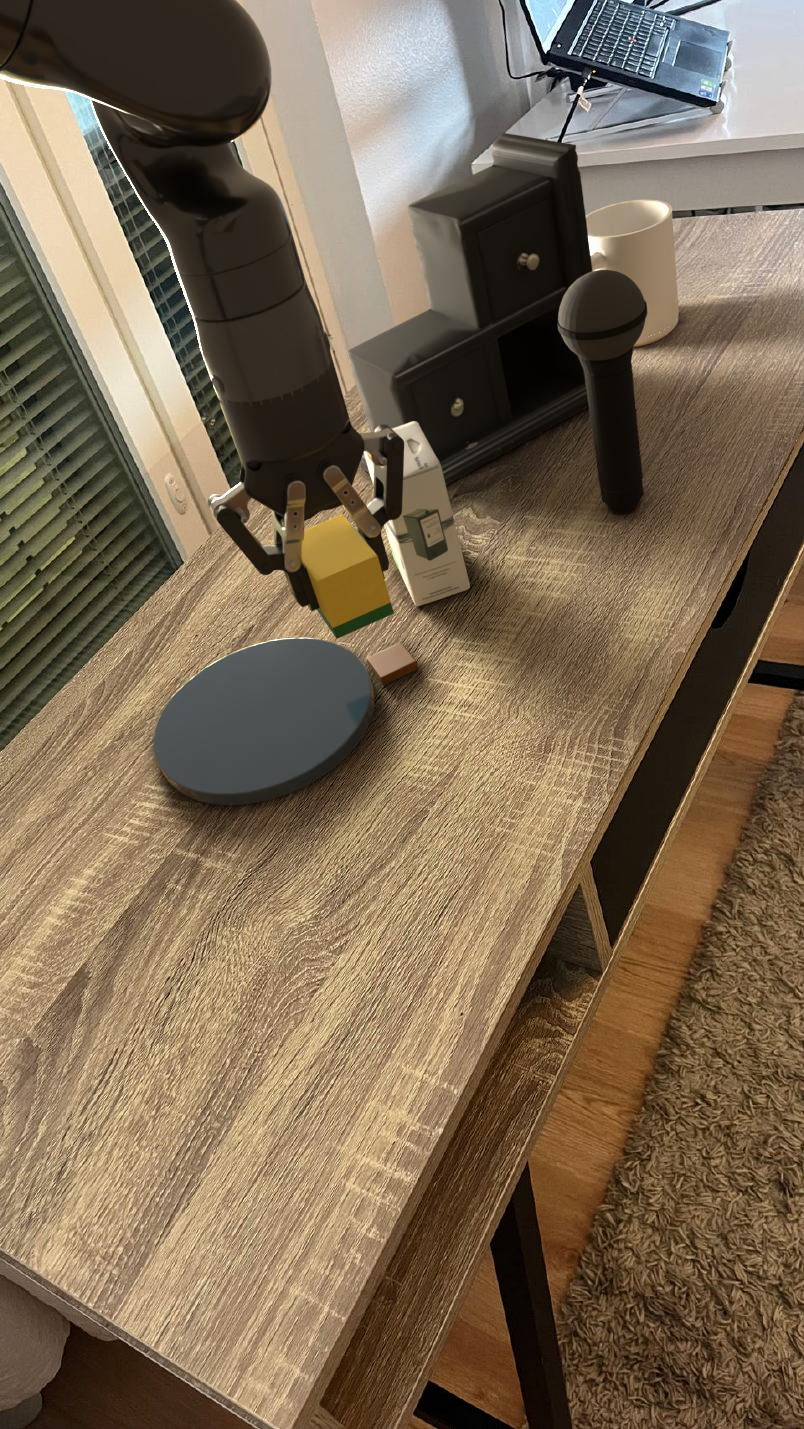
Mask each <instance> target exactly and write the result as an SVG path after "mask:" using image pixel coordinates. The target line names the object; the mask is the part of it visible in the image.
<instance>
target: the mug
mask: <svg viewBox="0 0 804 1429" xmlns="http://www.w3.org/2000/svg"><path fill="white" fill-rule="evenodd" d="M585 215H586V223H587V231H588V240H589V247H590V255H591V262H592V271H596V270H613V271H617V272H620V273H622V274H624V275H626V276H628V277H629V278H630V279H631V280H633V281H634V282H635V284H636V285H637V286H638V288H639V289H640V290H641V293H642V295H643V297H644V300H645V301H646V304H647V312H648V313H647V317H646V320H645V324H644V328H643V331H642V333H641V336H640V337H639V339H638V340H637V342H636V343H635V345H634V348H637V347H642V346H646V345H649V344H652V343H655V342H657V341H659V340H662V339H663V338H664V337H666V336H667V335H669V334H670V333H671V332H672V331H673V330H674V329H675V328H676V326H677V324H678V323H679V310H680V309H679V296H678V281H677V280H678V279H677V266H676V251H675V237H674V236H675V234H674V220H673V207H672V206H671V205H670V203H668V202H665V201H663V200H658V199H647V198H646V199H645V198H644V199H634V200H633V199H632V200H631V199H630V200H626V201H619V202H615V203H613V204H609V205H605V206H603V207H600V208H598V209H595V210H593V211H591V212H589V213H588V214H585ZM677 317H678V318H677ZM676 319H677V320H676ZM675 321H676V322H675ZM674 322H675V323H674ZM673 323H674V324H673ZM668 327H669V328H668ZM664 329H665V330H664ZM659 332H660V333H659ZM654 334H655V335H654ZM651 335H652V336H651ZM648 336H649V337H648ZM645 337H646V338H645Z"/></svg>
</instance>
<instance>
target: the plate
mask: <svg viewBox="0 0 804 1429" xmlns="http://www.w3.org/2000/svg"><path fill="white" fill-rule="evenodd" d="M375 703H376V698H375V689H374V686H373V682H372V680H371V676H370V673H369V671H368V669H367V667H366V666H365V664H364V663H363V661H362V660H361V659H360V658H359V657H358V656H357V655H356V654H355V653H353V652H352V651H351V650H349V649H348V648H346V647H344V646H342V645H340V644H337V643H335V642H332V641H328V640H324V639H319V638H313V637H312V638H311V637H289V638H288V637H287V638H280V639H279V638H278V639H273V640H268V641H264V642H259V643H256V644H252V645H250V646H247V647H244V648H241V649H238V650H236V651H234V652H231V653H229V654H227V655H225V656H223V657H221V658H219V659H217V660H216V661H214V662H212V663H211V664H209V665H207V666H205V667H204V668H203V669H201V670H200V671H199V672H197V673H196V674H195V675H193V676H192V677H191V678H189V679H188V680H187V681H186V682H185V683H184V684H183V685H182V686H181V687H180V688H179V689H178V690H177V691H176V693H174V695H173V696H172V697H171V698H170V700H169V701H168V702H167V704H166V705H165V707H164V708H163V710H162V712H161V713H160V716H159V718H158V720H157V722H156V726H155V729H154V734H153V752H154V757H155V760H156V762H157V764H158V766H159V769H160V771H161V772H162V774H163V776H164V778H165V779H166V780H167V781H168V783H169V784H170V785H171V786H172V787H173V788H174V789H175V790H176V791H178V792H179V793H181V794H183V795H184V796H186V797H188V798H190V799H193V800H195V801H198V802H202V803H206V804H211V805H219V806H244V805H251V804H252V805H253V804H259V803H262V802H267V801H272V800H274V799H277V798H280V797H284V796H287V795H289V794H291V793H294V792H296V791H298V790H301V789H303V788H305V787H307V786H309V785H310V784H312V783H314V782H316V781H317V780H319V779H321V778H322V777H324V776H325V775H327V774H328V773H329V772H331V771H333V769H335V768H336V767H337V766H338V765H340V764H341V763H342V762H343V761H344V760H345V759H346V758H347V757H348V756H349V755H350V754H351V753H352V752H353V750H354V749H355V748H356V747H357V746H358V745H359V743H360V742H361V740H362V739H363V737H364V736H365V734H366V732H367V731H368V728H369V726H370V724H371V721H372V719H373V714H374V711H375Z"/></svg>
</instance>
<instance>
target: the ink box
mask: <svg viewBox="0 0 804 1429" xmlns="http://www.w3.org/2000/svg"><path fill="white" fill-rule="evenodd" d="M392 430H393V431H394V432H396V433H397V434H398V435H399V436H400V437H401V438H402V439H403V440H404V470H403V498H402V514H401V516H400V517H399V518H398V519H396V520H389V521H388V522H387V523H386V524H385V525H384V528H385V532H386V536H387V539H388V542H389V547H390V550H391V554H392V558H393V560H394V562H395V565H396V567H397V569H398V572H399V573H400V576H401V578H402V580H403V582H404V584H405V586H406V589H407V591H408V593H409V595H410V597H411V599H412V601H413V603H414V605H415V606H416V607H420V606H421V607H422V606H425V605H426V604H431V603H433V602H437V601H438V600H442V599H444V598H447V597H450V596H453V595H456V594H458V593H463V592H465V591H467V590H469V589H470V588H471V585H470V584H471V583H470V580H469V575H468V572H467V567H466V563H465V559H464V556H463V551H462V547H461V543H460V539H459V535H458V531H457V526H456V522H455V518H454V514H453V510H452V505H451V501H450V498H449V493H448V489H447V485H446V484H445V480H444V476H443V472H442V468H441V465H440V463H439V460H438V459H437V457H436V455H435V454H434V452H433V450H432V448H431V446H430V444H429V442H428V441H427V439H426V437H425V435H424V433H423V431H422V430H421V428H420V426H419V423H417V422H416V421H415V422H414V421H413V422H409V423H407V424H404V425H401V426H398V427H396V428H393V429H392ZM364 454H365V458H366V462H367V465H368V469H369V472H370V473H369V472H368V473H369V475H370V478H371V479H370V480H371V483H372V486H373V487H374V463H373V462H372V461H371V460H370V459H369V458H368V456H367V452H365V451H364Z"/></svg>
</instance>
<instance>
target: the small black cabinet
mask: <svg viewBox="0 0 804 1429" xmlns="http://www.w3.org/2000/svg"><path fill="white" fill-rule="evenodd" d="M576 149H577V145H576V144H573V143H566V142H560V141H555V140H549V139H544V138H543V139H542V138H536V137H531V136H527V135H526V136H525V135H520V134H513V133H506V132H504V133H501V134H499V135H498V136H497V138H496V140H494V142H493V144H492V147H491V156H492V160H493V164H492V165H490V166H488V167H486V168H484V169H482V170H479V171H478V172H475V173H473V174H472V175H469V176H467V177H464V178H463V179H460V180H458V181H456V182H454V183H452V184H449V185H447V186H446V187H444V188H441V189H439V190H436V191H435V192H433V193H430V194H428V195H426V196H424V197H421V198H420V199H418V200H416V201H415V200H414V201H413V202H411V203H409V204H408V205H407V211H408V216H409V221H410V225H411V226H410V227H411V231H412V235H413V239H414V243H415V248H416V253H417V255H418V260H419V265H420V269H421V274H422V278H423V282H424V286H425V291H426V297H427V300H428V304H429V309H427V310H425V311H422V312H421V313H419V314H418V315H416V316H413V317H411V318H409V319H407V320H405V321H403V322H401V323H399V324H397V325H395V326H394V327H391V328H389V329H387V330H386V331H384V332H381V333H380V334H377V335H376V336H373V337H371V338H370V339H368V340H365V341H364V342H361V343H360V344H357V345H355V346H354V347H352V348H350V349H349V350H347V351H346V353H347V358H348V362H349V365H350V367H351V372H352V375H353V379H354V384H355V386H356V389H357V392H358V396H359V399H360V402H361V403H360V404H361V405H362V406H361V407H362V409H363V412H364V416H365V419H366V422H367V423H366V424H367V425H368V429H369V432H375V430H376V428H377V427H378V426H379V425H382V424H386V425H388V426H389V427H390V428H391V429H393V428H396V427H398V426H401V425H404V424H407V423H409V422H413V421H414V422H415V421H416V422H417V423H419V426H420V428H421V430H422V431H423V433H424V435H425V437H426V439H427V441H428V442H429V444H430V446H431V448H432V450H433V452H434V454H435V455H436V457H437V459H438V460H439V463H440V465H441V468H442V472H443V476H444V480H445V484H446V486H448V485H449V484H451V483H453V482H454V481H457V480H458V479H461V478H462V477H463V476H466V475H468V474H469V473H472V472H473V471H475V470H476V469H478V468H480V467H482V466H484V465H486V464H487V463H489V462H491V461H493V460H494V459H497V458H498V457H500V456H502V455H504V454H505V453H508V452H509V451H511V450H513V449H515V448H517V447H518V446H520V445H522V444H523V443H525V442H527V441H529V440H530V439H533V438H534V437H536V436H538V435H539V434H541V433H544V432H545V431H547V430H549V429H551V428H552V427H555V426H556V425H557V424H559V423H561V422H563V421H565V420H567V419H569V418H570V417H572V416H574V415H576V414H578V413H579V412H581V411H584V410H585V409H587V408H589V405H588V397H587V390H586V382H585V374H584V369H583V366H582V364H581V362H580V360H579V357H578V355H577V354H575V353H574V352H573V351H571V350H570V348H569V347H568V346H567V345H566V343H565V342H564V340H563V338H562V336H561V334H560V332H559V330H558V324H557V319H558V314H559V308H560V305H561V302H562V299H563V297H564V295H565V293H566V292H567V290H568V289H569V287H570V286H571V285H572V284H573V283H574V282H575V281H576V280H577V279H579V278H580V277H582V276H584V275H585V274H587V273H589V272H592V262H591V255H590V247H589V240H588V231H587V223H586V215H587V214H586V208H585V201H584V192H583V184H582V176H581V171H580V170H579V165H578V162H579V156H578V153H577V152H578V151H577V150H576ZM359 467H360V468H361V469H363V470H364V471H366V472H367V473H369V474H370V472H369V469H368V465H367V462H366V458H365V454H364V453H363V456H362V458H361V461H360V464H359Z"/></svg>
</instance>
